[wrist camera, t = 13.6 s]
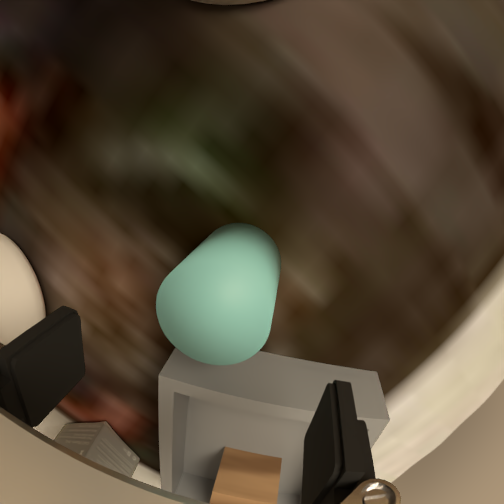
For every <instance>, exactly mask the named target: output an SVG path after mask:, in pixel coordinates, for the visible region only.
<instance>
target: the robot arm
mask: <svg viewBox="0 0 504 504" xmlns="http://www.w3.org/2000/svg"><path fill="white" fill-rule="evenodd" d="M192 1H196V2H201V3H206V4H219V5H233V4H248V3H253V2H259V1H266V0H192ZM84 374H85V363H84V354H83V344H82V333H81V320H80V316H79V315H78V313H77V311H76V310H74V309H71V308H69V307H66V306H62V307H60V308H59V309H57V310H56V311H54V312H53V313H51V314H50V315H48V316H47V317H45V318H44V319H42V320H41V321H39V322H38V323H37V324H35V325H34V326H32V327H31V328H29V329H28V330H26V331H25V332H24V333H22V334H21V335H19V336H18V337H16V338H15V339H14V340H12V341H11V342H9V343H8V344H7V345H5V346H4V347H3V348H1V349H0V504H209V503H205V502H202V501H198V500H195V499H191V498H188V497H184V496H181V495H178V494H175V493H171V492H168V491H165V490H163V489H160V488H157V487H154V486H151V485H148V484H146V483H143V482H140V481H138V480H135V479H133V478H130V477H128V476H125V475H123V474H120V473H118V472H116V471H113V470H111V469H109V468H107V467H104V466H102V465H100V464H98V463H96V462H94V461H92V460H90V459H87V458H85V457H83V456H81V455H79V454H78V453H76V452H74V451H72V450H70V449H68V448H66V447H64V446H62V445H61V444H59V443H57V442H55V441H53V440H52V439H50V438H48V437H46V436H45V435H43V434H41V433H40V432H38V431H36V430H35V429H33V427H34V426H35V427H36V426H38V425H39V424H40V423H41V422H42V421H43V419H44V418H45V417H46V416H47V415H48V414H49V413H50V412H51V411H52V410H53V409H54V408H55V406H56V405H57V404H58V403H59V402H60V401H61V400H62V399H63V398H64V397H65V396H66V395H67V394H68V393H69V391H70V390H71V389H72V388H73V387H74V386H75V385H76V384H77V383H78V382H79V381H80V380H81V379H82V378H83V376H84ZM400 501H401V497H400V493H399V491H398V490H397V488H396V487H395V486H394V485H393V484H391V483H390V482H388V481H385V480H382V479H376V478H375V472H374V466H373V460H372V454H371V448H370V442H369V437H368V431H367V426H366V423H365V421H364V420H357V414H356V408H355V402H354V396H353V391H352V386H351V383H350V382H346V381H340V380H334V381H333V383H328V384H327V385H326V388H325V390H324V393H323V395H322V397H321V400H320V402H319V405H318V407H317V409H316V412H315V414H314V416H313V418H312V421H311V423H310V425H309V427H308V430H307V432H306V434H305V438H304V452H303V476H302V495H301V504H400Z"/></svg>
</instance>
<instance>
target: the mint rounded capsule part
mask: <svg viewBox="0 0 504 504" xmlns="http://www.w3.org/2000/svg"><path fill="white" fill-rule="evenodd" d="M280 270H281V257H280V253H279V250H278V248H277V246H276V244H275V242H274V241H273V240H272V238H271V237H270V236H269V235H268V234H267V233H265V232H264V231H263V230H261V229H259V228H258V227H255V226H253V225H250V224H245V223H232V224H228V225H225V226H222V227H220V228H218V229H217V230H215V231H214V232H213V233H212V234H211V235H210V236H208V237H207V238H206V239H205V240H204V241H203V242H202V243H201V244H200V245H199V246H198V247H197V248H196V249H195V250H194V251H193V252H192V253H190V254H189V255H188V256H187V257H186V258H185V259H184V260H183V261H182V262H181V263H180V264H179V265H178V266H177V267H176V268H175V269H174V270H173V271H172V272H171V273H170V274H169V275H168V276H167V277H166V278H165V279H164V281H163V282H162V284H161V286H160V288H159V291H158V294H157V299H156V312H157V317H158V321H159V324H160V326H161V328H162V330H163V332H164V334H165V335H166V337H167V338H168V340H169V341H170V342H171V343H172V344H173V345H174V346H175V347H176V348H177V349H178V350H180V351H181V352H182V353H184V354H185V355H187V356H189V357H190V358H192V359H195V360H197V361H200V362H203V363H206V364H211V365H232V364H236V363H240V362H242V361H245V360H247V359H249V358H251V357H252V356H253V355H255V354H256V353H257V352H258V351H259V350H260V349H261V348H262V346H263V345H264V344H265V342H266V340H267V338H268V335H269V333H270V328H271V322H272V317H273V311H274V305H275V299H276V294H277V288H278V282H279V276H280Z"/></svg>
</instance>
